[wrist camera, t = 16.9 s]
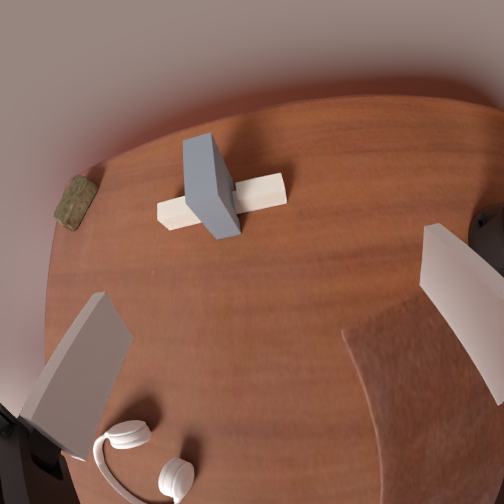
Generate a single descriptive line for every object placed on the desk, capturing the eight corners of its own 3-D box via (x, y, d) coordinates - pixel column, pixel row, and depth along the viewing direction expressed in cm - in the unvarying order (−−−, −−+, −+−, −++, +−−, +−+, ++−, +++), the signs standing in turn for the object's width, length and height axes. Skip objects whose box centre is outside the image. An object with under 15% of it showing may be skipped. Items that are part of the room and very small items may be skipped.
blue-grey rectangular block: (210, 186, 47) (182, 140, 35) (232, 180, 46) (210, 132, 34) (216, 239, 44) (185, 203, 32) (241, 234, 43) (218, 194, 31)
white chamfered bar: (283, 187, 45) (280, 172, 40) (286, 203, 44) (285, 189, 39) (169, 214, 47) (157, 203, 43) (169, 230, 46) (157, 220, 42)
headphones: (105, 410, 31) (76, 461, 32) (199, 497, 26) (147, 529, 26) (133, 398, 38) (99, 450, 38) (217, 473, 32) (165, 511, 33)
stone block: (101, 186, 53) (88, 176, 48) (77, 234, 50) (62, 226, 46) (87, 182, 54) (74, 171, 49) (64, 226, 52) (50, 218, 47)
